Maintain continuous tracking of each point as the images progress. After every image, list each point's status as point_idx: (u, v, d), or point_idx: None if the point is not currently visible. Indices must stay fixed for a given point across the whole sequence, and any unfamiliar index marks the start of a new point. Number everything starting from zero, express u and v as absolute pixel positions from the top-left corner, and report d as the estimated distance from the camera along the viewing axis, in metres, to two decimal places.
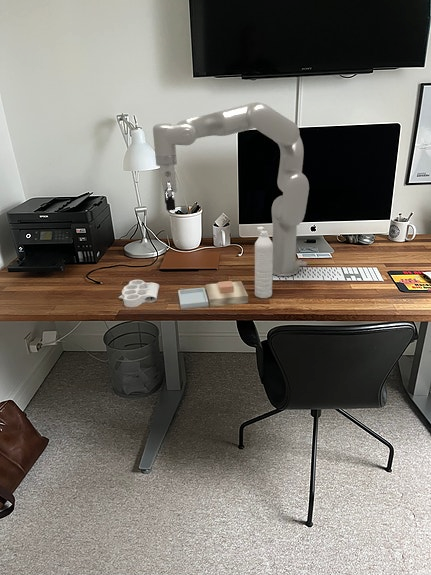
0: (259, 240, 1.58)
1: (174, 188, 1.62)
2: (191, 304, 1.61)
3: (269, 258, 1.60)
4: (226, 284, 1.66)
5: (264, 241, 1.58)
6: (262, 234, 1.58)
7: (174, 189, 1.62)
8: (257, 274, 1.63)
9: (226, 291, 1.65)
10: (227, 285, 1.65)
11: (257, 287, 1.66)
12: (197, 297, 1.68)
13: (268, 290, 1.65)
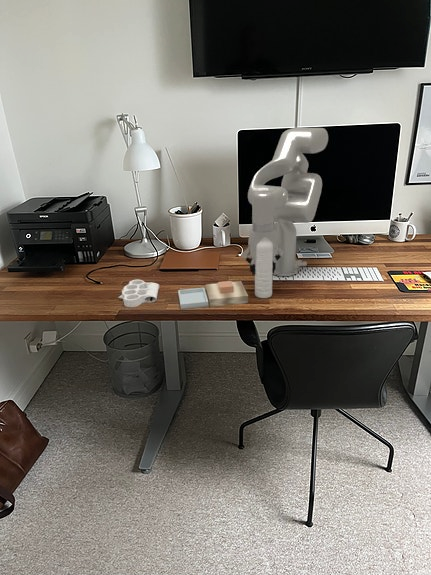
0: None
1: None
2: (191, 304, 1.61)
3: (269, 258, 1.60)
4: (226, 284, 1.66)
5: (264, 241, 1.58)
6: None
7: None
8: (257, 274, 1.63)
9: (226, 291, 1.65)
10: (227, 285, 1.65)
11: (257, 287, 1.66)
12: (197, 297, 1.68)
13: (268, 290, 1.65)
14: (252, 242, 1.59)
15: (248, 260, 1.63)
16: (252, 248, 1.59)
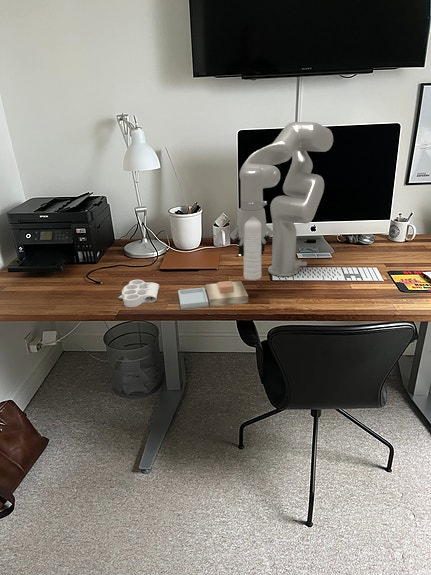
0: None
1: None
2: (191, 304, 1.61)
3: (257, 238, 1.56)
4: (226, 284, 1.66)
5: (252, 221, 1.54)
6: None
7: None
8: (245, 255, 1.59)
9: (226, 291, 1.65)
10: (227, 285, 1.65)
11: (246, 269, 1.61)
12: (197, 297, 1.68)
13: (257, 272, 1.61)
14: (240, 221, 1.55)
15: (237, 240, 1.59)
16: (240, 228, 1.55)
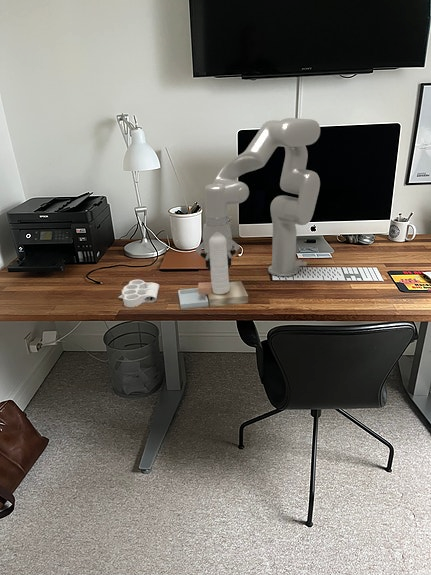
0: (212, 235, 1.55)
1: None
2: (191, 304, 1.61)
3: (223, 253, 1.57)
4: (205, 285, 1.66)
5: (217, 236, 1.54)
6: None
7: None
8: (212, 270, 1.60)
9: (204, 292, 1.65)
10: (205, 286, 1.65)
11: (213, 283, 1.62)
12: (197, 297, 1.68)
13: (224, 286, 1.62)
14: (205, 236, 1.55)
15: (203, 255, 1.59)
16: (206, 243, 1.56)
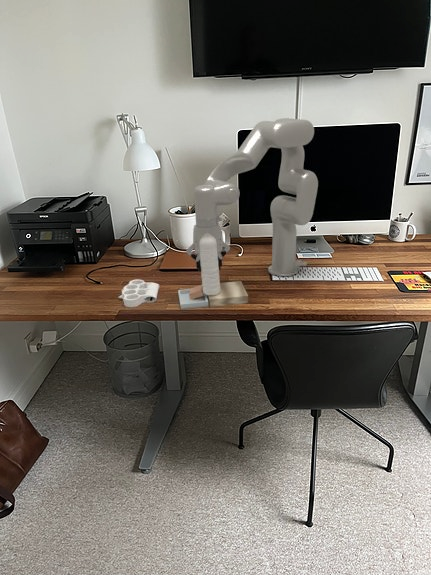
0: None
1: None
2: (191, 304, 1.61)
3: (213, 254, 1.56)
4: (196, 289, 1.67)
5: (207, 237, 1.54)
6: None
7: None
8: (202, 271, 1.60)
9: (196, 296, 1.66)
10: (196, 290, 1.66)
11: (204, 284, 1.62)
12: None
13: (215, 287, 1.62)
14: (196, 238, 1.55)
15: (193, 256, 1.59)
16: (196, 244, 1.56)
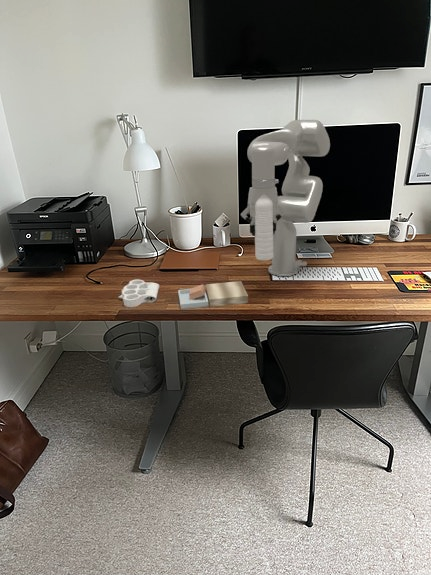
0: None
1: None
2: (191, 304, 1.61)
3: (269, 217, 1.53)
4: (196, 289, 1.67)
5: (264, 199, 1.51)
6: None
7: None
8: (257, 235, 1.57)
9: (196, 296, 1.66)
10: (196, 290, 1.66)
11: (257, 249, 1.59)
12: None
13: (269, 252, 1.59)
14: (252, 200, 1.52)
15: (248, 220, 1.56)
16: (252, 206, 1.53)
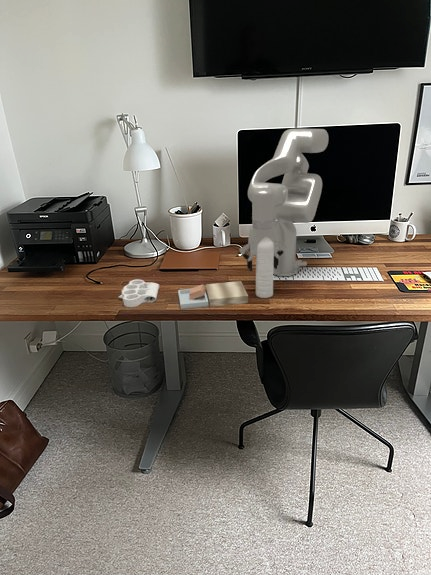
0: None
1: None
2: (191, 304, 1.61)
3: (270, 258, 1.60)
4: (196, 289, 1.67)
5: (266, 241, 1.58)
6: None
7: None
8: (258, 274, 1.63)
9: (196, 296, 1.66)
10: (196, 290, 1.66)
11: (258, 287, 1.66)
12: None
13: (269, 290, 1.65)
14: (252, 239, 1.58)
15: (245, 256, 1.62)
16: (252, 245, 1.59)
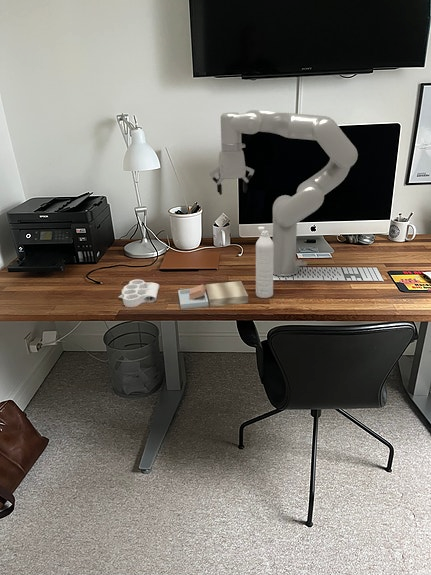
0: (260, 240, 1.58)
1: None
2: (191, 304, 1.61)
3: (270, 258, 1.60)
4: (196, 289, 1.67)
5: (265, 241, 1.58)
6: (263, 234, 1.58)
7: None
8: (258, 274, 1.63)
9: (196, 296, 1.66)
10: (196, 290, 1.66)
11: (258, 287, 1.66)
12: None
13: (269, 290, 1.65)
14: (221, 162, 1.69)
15: (215, 179, 1.72)
16: (221, 168, 1.69)
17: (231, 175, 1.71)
